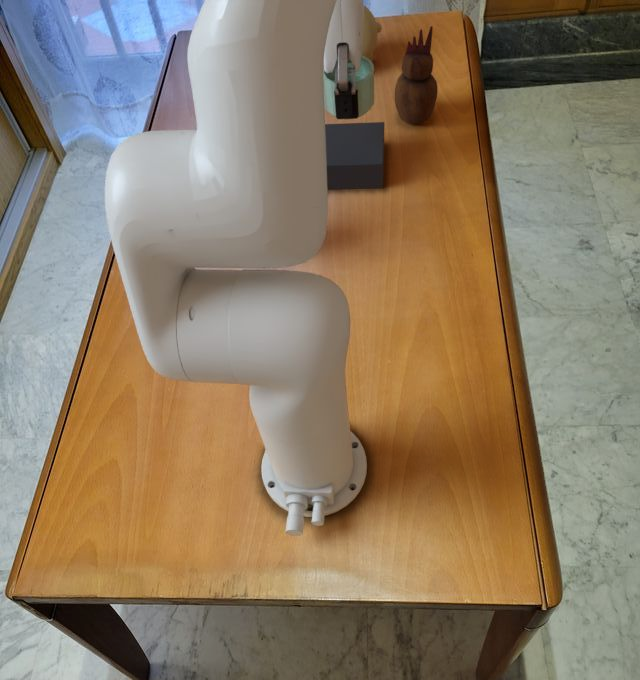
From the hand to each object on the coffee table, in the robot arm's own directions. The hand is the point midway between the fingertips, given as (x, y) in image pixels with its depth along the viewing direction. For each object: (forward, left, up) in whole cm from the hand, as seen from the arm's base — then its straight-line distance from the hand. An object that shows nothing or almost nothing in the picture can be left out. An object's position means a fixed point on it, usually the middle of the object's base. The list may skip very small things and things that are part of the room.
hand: (348, 99), depth 92 cm
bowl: (0, 0, -1) cm, 1 cm away
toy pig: (+28, +2, -12) cm, 30 cm away
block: (0, 0, -12) cm, 12 cm away
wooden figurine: (+12, -10, -12) cm, 20 cm away
